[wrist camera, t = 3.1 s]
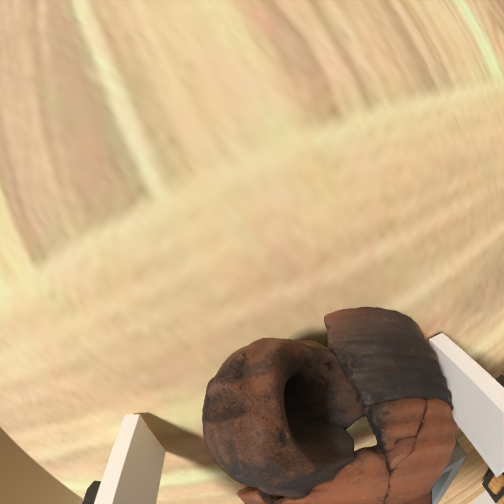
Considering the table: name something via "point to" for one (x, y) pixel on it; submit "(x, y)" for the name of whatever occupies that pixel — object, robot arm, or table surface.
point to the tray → (448, 473)
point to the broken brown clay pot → (333, 414)
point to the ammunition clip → (495, 486)
